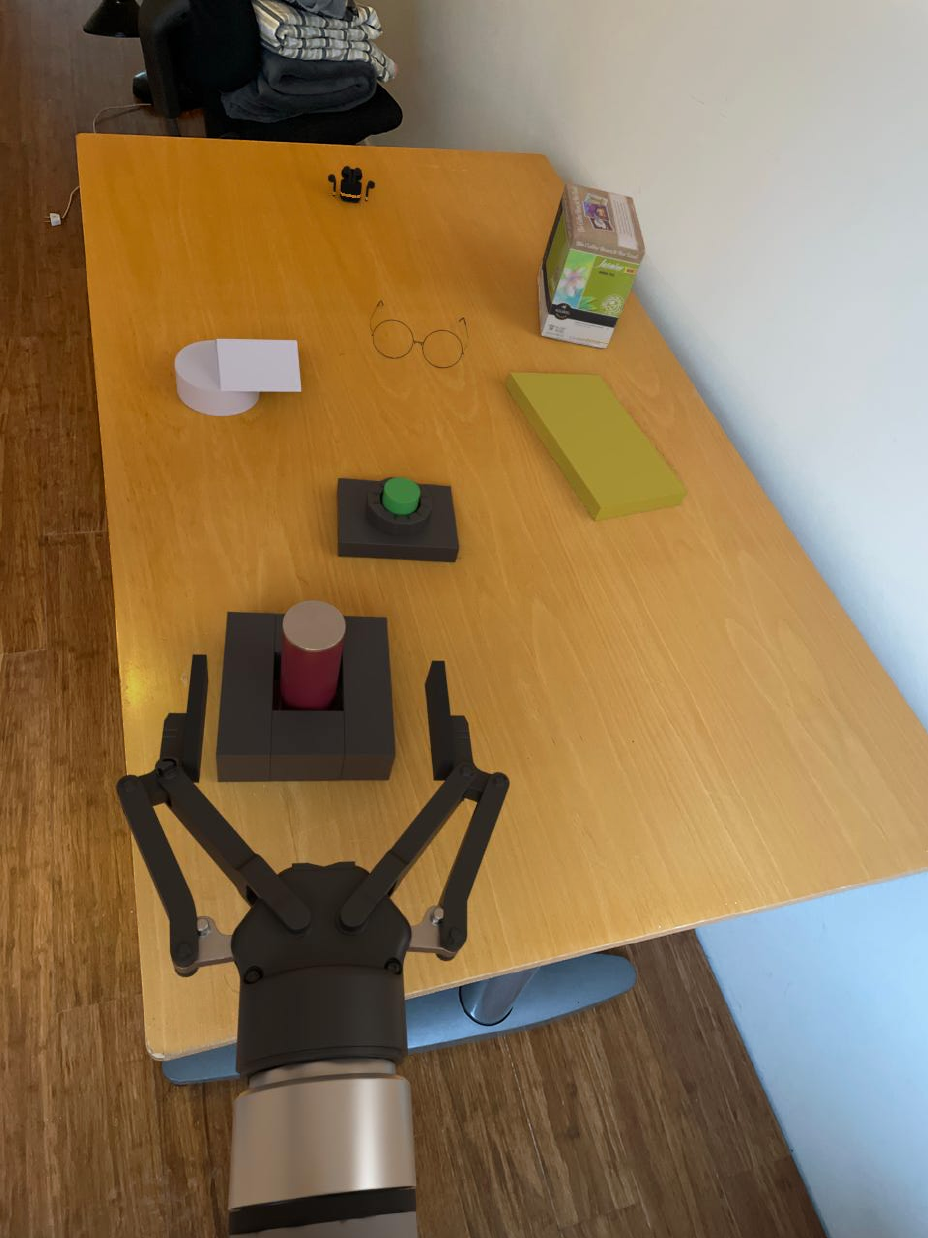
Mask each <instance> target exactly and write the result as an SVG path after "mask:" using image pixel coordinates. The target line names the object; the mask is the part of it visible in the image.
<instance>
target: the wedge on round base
mask: <svg viewBox="0 0 928 1238" xmlns="http://www.w3.org/2000/svg"><path fill="white" fill-rule="evenodd" d="M298 347H299V346H298V340H297V339H296V340H295V339H256V338H255V339H249V338H215V339H211V340H202V341H201V340H200V341H197V342H193V343H190V344H188V345H186V346H185V347H183V348H181V350H180V351H178V353H177V354H176V356H175V358H174V373H175V374H174V375H175V384H176V392H177V396H178V398H179V399H180V401H181V402H182V403H183V404H184V405H186V407H188V408H189V409H191V410H193V411H196V412H197V413H200V414H203V415H208V416H213V417H229V416H235V415H239V414H242V413H245V412H247V411H249V410H250V409H252V408H253V407H254V406H255V405H256V404H257V403H258V401H259V398H260V396H261V392H287V393H288V392H289V393H290V392H293V393H294V392H299V393H301V392H302V384H301V371H300V360H299V348H298Z"/></svg>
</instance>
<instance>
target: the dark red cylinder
mask: <svg viewBox="0 0 928 1238" xmlns="http://www.w3.org/2000/svg"><path fill="white" fill-rule="evenodd" d="M284 614H285V616H284V619H283V630H282V654H281V677H280V681H279V700H278V701H279V702H278V703H279V705H278V710H299V711H335V704H336V697H337V692H338V691H337V690H338V677H339V670H340V663H341V656H342V649H343V642H344V636H345V628H346V624H345V620H344V617H343V616H344V615H343V614H342V612H341V611H340V610H339V609H338V608H337V607H336V606H334V605H332V604H330V603H329V602H326V601H323V600H315V599H310V600H304V601H301V602H298V603H296V604H294V605H293V606H291V607H290V608H289V609H288V610H287V611H286V612H285V613H284Z"/></svg>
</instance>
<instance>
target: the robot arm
mask: <svg viewBox="0 0 928 1238" xmlns="http://www.w3.org/2000/svg"><path fill="white" fill-rule="evenodd" d="M191 656H192V657H191V666H190V675H189V682H188V683H189V685H188V694H187V701H186V702H187V704H186V712H168V714H167V716H166V717H165V718H164V720H163V727H162V734H161V742H160V751H159V759H158V760H157V761H156V762H155V765H154V769H152V770H151V771H150V772H147V773H144V774H141V775H136V774H125V775H124V776H122V777H120V778H119V780H118V781H117V783H116V786H115V789H116V793H117V797H118V799H119V803H120V806H121V810H122V812H123V815H124V817H125V819H126V822H127V824H128V826H129V829H130V832H131V834H132V836H133V838H134V840H135V843H136V846H137V848H138V850H139V853H140V855H141V858H142V860H143V862H144V864H145V867H146V870H147V872H148V874H149V876H150V879H151V881H152V883H153V886H154V888H155V891H156V893H157V895H158V898H159V900H160V903H161V905H162V907H163V910H164V912H165V914H166V916H167V919H168V922H169V923H168V924H169V927H168V928H169V955H170V958H171V962H172V966H173V969H174V972H175V973H176V975H177V976H179V977H181V978H189V977H192V976H194V975H195V974H196V973H198V971H199V969H200V968H204V967H210V966H216V965H222V964H223V965H224V964H229V963H234V965H235V968H236V970H237V972H238V975H239V991H238V1009H237V1010H238V1012H237V1031H236V1047H235V1048H236V1051H235V1067H234V1068H235V1070H234V1071H235V1073H236V1074H238V1075H239V1078H240V1079H241V1081H243V1082H246V1086H248V1089H247V1090H244V1091H243V1092H241V1093H240V1094H239V1095H238V1096H237V1097H236V1098H235V1099H234V1100H233V1109H232V1111H233V1112H232V1130H231V1132H232V1133H231V1149H230V1166H229V1185H228V1203H227V1210H229V1211H230V1212H228V1226H227V1228H228V1229H227V1232H228V1238H419V1236H418V1235H419V1234H418V1221H417V1194H416V1193H417V1192H416V1188H415V1187H417V1175H416V1174H417V1173H416V1160H415V1159H416V1158H415V1157H416V1156H415V1139H414V1138H415V1137H414V1124H413V1122H414V1121H413V1105H412V1090H411V1083H410V1081H408V1079H407V1078H406V1077H403V1076H401V1075H398V1074H397V1071H396V1069H397V1068H399V1067H401V1066H402V1065H403V1064H404V1062H405V1058H407V1057H408V1056H409V1044H408V1043H409V1041H408V1027H407V1026H408V1025H407V1009H406V994H405V978H404V966H405V965H404V964H405V959H406V956H407V953H421V954H422V953H423V954H434V955H435V956H436V958H437V959H439V961H442V962H451V961H452V960H454V959H455V958H456V956H457V955H458V954H459V953H460V952H461V950H462V948H463V947H464V945H465V944H466V942H467V940H468V901H469V898H470V896H471V892H472V890H473V887H474V884H475V882H476V878H477V877H478V874H479V870H480V868H481V865H482V862H483V860H484V857H485V854H486V851H487V849H488V846H489V843H490V840H491V839H492V835H493V833H494V829H495V827H496V824H497V822H498V819H499V816H500V813H501V810H502V807H503V805H504V802H505V799H506V797H507V795H508V791H509V789H510V785H511V781H510V778H509V776H508V775H506V774H505V773H503V772H500V771H496V772H493V773H490V772H487V771H483V770H481V769H480V768H479V767H477V765H476V764H475V762H474V757H473V748H472V740H471V733H470V725H469V721H468V719H467V718H466V716H465V715H461V714H458V715H455V714H451V704H450V695H449V687H448V678H447V669H446V668H447V667H446V661H445V660H434V659H433V660H431V664H430V665H429V670H428V673H427V676H426V679H425V682H424V692H425V703H426V713H427V725H428V734H429V746H430V757H431V768H432V769H431V770H432V777H433V778H432V779H433V781H434V782H442V784H440V786H439V787H438V789H437V790H436V791H435V792H434V794H433V795H432V797H430V799H429V800H428V802H426V803H425V805H424V806H423V807H422V809H421V810H420V811H419V813H417V815H416V817H414V819H413V820H412V821H411V823H410V824H409V825H408V827H407V828H406V829H405V831H403V833H402V834H401V835H400V836H399V837H398V839H397V841H395V843H394V844H393V845H392V846H391V848H390V849H388V850H387V851H386V852H385V853H384V854H383V856H382V857H381V859H380V860H379V861H378V862H377V864H375V866H374V867H373V869H372V870H371V871H370V872H369V871H368V870H367V869H366V868H365V867H362V866H360V865H357V864H356V861H354V860H353V861H351V860H350V861H338V862H334V863H330V864H327V865H319V864H314V863H310V862H293V863H291V866H290V867H286V868H285V869H283V870H281V871H279V872H278V873H276V871H275V870H274V869H273V868H272V867H271V866H270V864H269V863H268V862H267V861H266V860H265V859H264V858H263V857H262V856H261V855H260V854H259V853H256V852H255V851H254V850H253V849H252V847H250V845H249V844H248V843H247V842H246V841H245V840H244V839H243V837H242V836H241V835H240V834H239V833H238V832H237V830H236V829H235V828H234V827H233V826H232V825H231V824H230V823H229V821H228V820H227V819H226V817H224V816H223V814H222V813H221V812H220V811H219V810H218V809H217V808H216V806H215V805H214V804H213V803H212V802H211V801H210V800H209V799H208V797H207V796H206V795H205V794H204V793H203V792H202V791H201V790H200V788H199V787H198V786H197V785H196V784H199V783H200V779H201V768H202V757H203V745H204V737H205V736H204V734H205V723H206V713H207V703H208V702H207V701H208V691H209V669H208V668H209V667H208V655H207V654H203V653H202V654H201V653H192V655H191ZM465 799H466V800H468V801H472V802H475V803H476V804H475V807H474V810H473V812H472V815H471V817H470V819H469V822H468V825H467V827H466V830H465V832H464V835H463V837H462V840H461V843H460V845H459V848H458V850H457V853H456V856H455V858H454V861H453V863H452V866H451V869H450V871H449V873H448V876H447V878H446V880H445V881H446V882H445V884H444V885H443V889H442V891H441V894H440V896H439V900H438V902H437V905H432V906H429V907H428V908H427V909H426V910H425V912H424V914H423V916H422V918H421V922H419V923H418V924H416V925H411V924H410V921H409V920H408V919H407V917H406V916H405V914H404V913H403V912H402V910H400V908H399V907H398V906H397V905H396V904H395V902H394V901H393V899H392V898H391V897H393V895H394V894H395V893H396V891H397V889H398V888H399V886H400V885H401V884H402V882H403V880H404V879H405V878H406V876H408V874H409V872H410V871H411V870H412V869H413V867H414V866H415V865H416V863H417V862H418V861H419V859H420V858H421V857H422V855H423V854H424V853H425V852H426V850H427V849H428V847H429V846H430V845H431V844H432V842H433V841H434V839H435V838H436V837H437V835H438V834H439V833H440V832H441V830H442V829H443V828H444V826H445V825H446V824H447V822H448V821H449V820H450V818H451V817H452V816H453V815H454V813H455V811H456V810H457V809H458V808H459V806H461V804H462V803H464V802H465ZM161 804H165V806H166V807H167V808H168V810H170V812H171V813H172V814H173V815H174V816H175V818H176V819H177V820H178V821H179V822H180V823H181V825H182V826H183V827H184V828H185V829H186V831H187V832H188V833H189V834H190V835H191V836H192V838H193V839H194V840H195V841H196V842H197V843H198V844H199V846H200V847H201V848H202V849H203V850H204V851H205V853H206V854H207V855H208V856H209V857H210V858H211V860H212V861H213V862H214V863H215V865H216V866H217V867H218V868H219V870H220V871H222V873H223V874H224V875H225V876H226V877H227V879H228V880H229V881H230V882H231V883H232V885H233V886H234V887H235V888H236V890H237V892H238V894H239V896H240V897H241V899H243V901H244V902H245V903H246V904H247V905H248V907H250V908H249V910H248V911H247V912H246V914H244V916H243V918H242V919H240V921H239V923H238V924H237V925H236V927H235V928H234V930H233V932H232V934H225V933H222V932H221V931H220V929H218V927H217V924H216V922H215V920H214V919H213V917H211V916H207V915H201V916H198V912H197V907H196V903H195V900H194V896H193V894H192V892H191V890H190V887H189V885H188V882H187V880H186V877H185V875H184V874H183V871H182V869H181V867H180V864H179V862H178V860H177V858H176V856H175V854H174V853H175V852H174V851H173V849H172V846H171V843H170V842H169V840H168V837H167V835H166V833H165V831H164V829H163V826H162V824H161V822H160V821H161V820H159V817H158V814H157V813H156V810H155V808H154V807H156V806H159V805H161Z"/></svg>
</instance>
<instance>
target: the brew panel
mask: <svg viewBox="0 0 928 1238" xmlns="http://www.w3.org/2000/svg"><path fill="white" fill-rule="evenodd" d="M392 478H396V477H393V476H389V477H386V478H384V479H383V478H382V479H380V480H373V479H361V478H359V479H358V478H346V477H345V478H344V477H338V478H337V485H336V492H335V493H336V494H335V495H336V531H337V532H336V533H337V557H339V558H356V559H357V558H359V559H377V560H379V559H380V560H400V561H417V562H418V561H420V562H437V563H439V562H440V563H456V562H457V559H458V555H459V552H460V543H459V542H460V541H459V534H458V528H457V527H458V526H457V521H456V513H455V506H454V505H455V504H454V499H453V498H454V497H453V492H452V485H443V484H429V483H419V482H416V481H414V480H412V481H413V482H415V483H416V484H417V485H418V487H419V489H420V496H419V501H418V506H417V508H416V510H415V511H414V512H412V513H410V514H407V515H397V514H394V513H392V512H390V511H388V510H387V509H386V508H385V507H384V505H383V503H382V497H383V492H384V486H385V484H386V482H387V481H388V480H390V479H392Z"/></svg>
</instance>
